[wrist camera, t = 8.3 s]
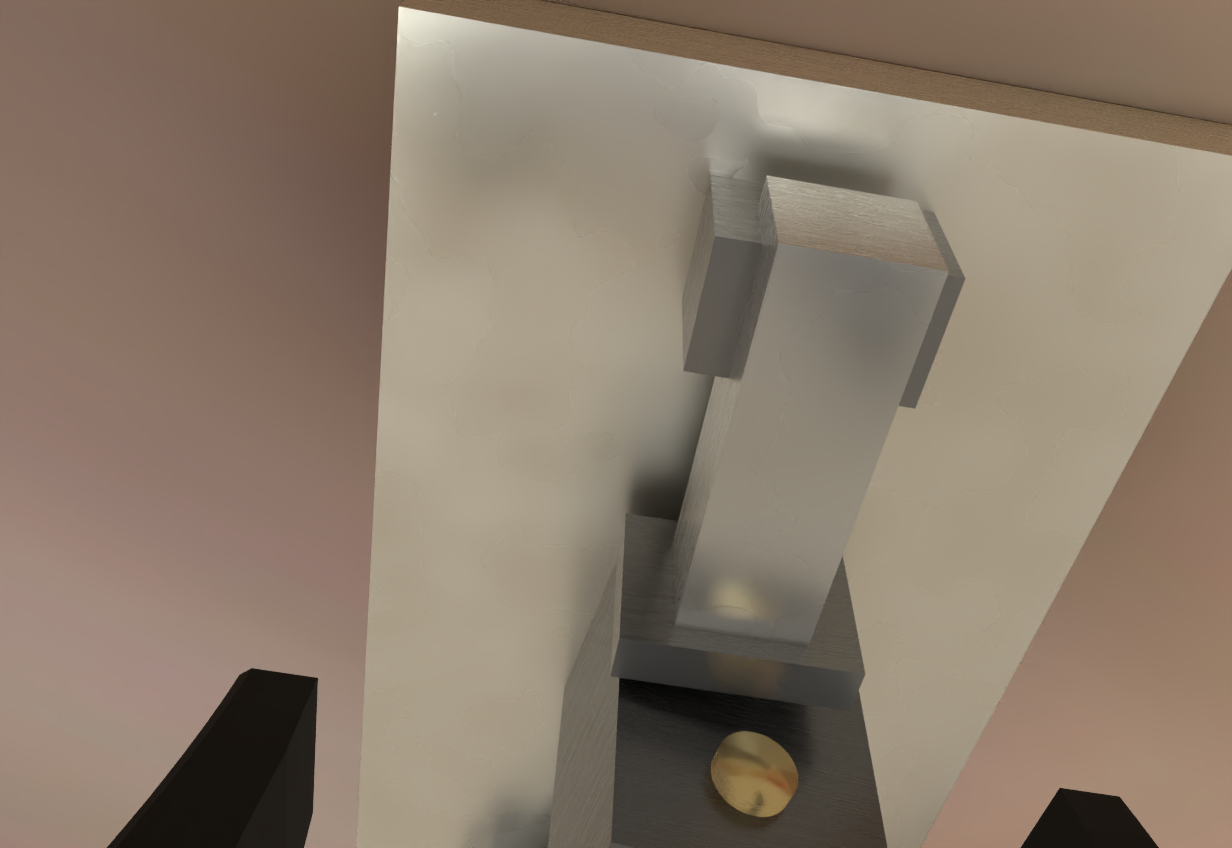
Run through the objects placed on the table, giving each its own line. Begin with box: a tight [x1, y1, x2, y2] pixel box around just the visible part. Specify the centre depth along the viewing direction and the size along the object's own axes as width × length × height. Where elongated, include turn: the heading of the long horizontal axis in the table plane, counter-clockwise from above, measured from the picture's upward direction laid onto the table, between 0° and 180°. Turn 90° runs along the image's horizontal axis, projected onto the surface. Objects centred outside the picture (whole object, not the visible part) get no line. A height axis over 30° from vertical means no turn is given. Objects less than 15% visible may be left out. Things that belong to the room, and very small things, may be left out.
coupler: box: [548, 561, 888, 848], centre depth 18 cm, size 4×5×6 cm
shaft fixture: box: [356, 0, 1232, 848], centre depth 20 cm, size 12×22×5 cm, turn 171°
